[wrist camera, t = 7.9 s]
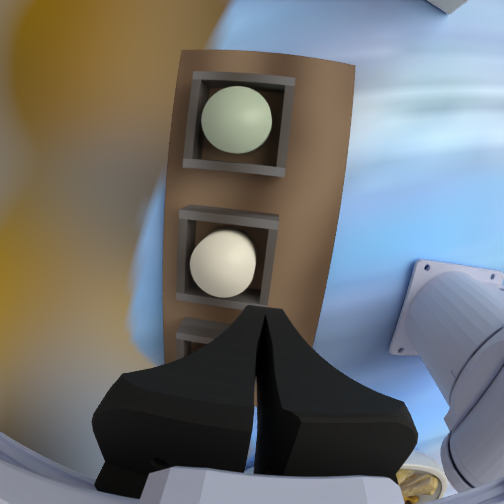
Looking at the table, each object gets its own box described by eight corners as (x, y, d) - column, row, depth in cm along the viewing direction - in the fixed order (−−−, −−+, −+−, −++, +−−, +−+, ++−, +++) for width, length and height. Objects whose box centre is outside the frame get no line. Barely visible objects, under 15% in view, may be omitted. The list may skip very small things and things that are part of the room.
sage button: (275, 98, 17) (274, 89, 14) (268, 157, 18) (267, 156, 15) (215, 94, 17) (205, 84, 14) (208, 151, 18) (198, 150, 15)
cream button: (260, 229, 19) (257, 240, 17) (254, 284, 20) (250, 301, 18) (202, 222, 19) (191, 232, 17) (199, 277, 20) (188, 292, 18)
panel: (351, 70, 17) (364, 55, 14) (295, 400, 25) (296, 428, 21) (186, 55, 18) (170, 38, 14) (170, 382, 25) (158, 407, 22)
